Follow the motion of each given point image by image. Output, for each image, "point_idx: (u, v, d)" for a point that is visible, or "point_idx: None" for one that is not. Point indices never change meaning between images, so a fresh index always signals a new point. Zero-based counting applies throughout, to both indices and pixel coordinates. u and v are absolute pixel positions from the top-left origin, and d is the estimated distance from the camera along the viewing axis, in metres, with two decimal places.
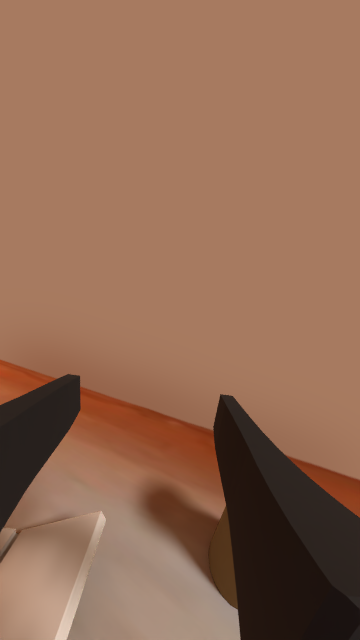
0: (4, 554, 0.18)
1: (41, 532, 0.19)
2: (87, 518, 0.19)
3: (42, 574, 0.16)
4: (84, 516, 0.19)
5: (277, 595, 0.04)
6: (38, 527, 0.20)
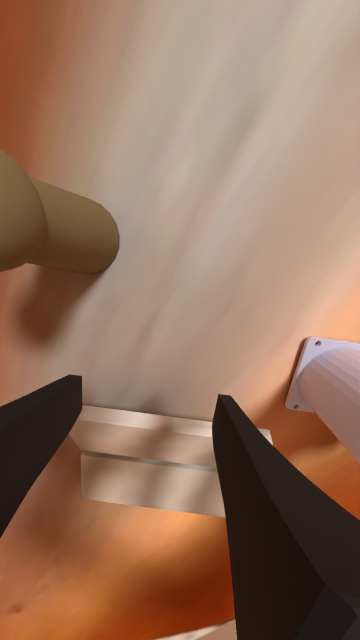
0: None
1: (80, 442, 0.20)
2: None
3: (107, 437, 0.18)
4: None
5: (273, 594, 0.04)
6: (77, 444, 0.20)
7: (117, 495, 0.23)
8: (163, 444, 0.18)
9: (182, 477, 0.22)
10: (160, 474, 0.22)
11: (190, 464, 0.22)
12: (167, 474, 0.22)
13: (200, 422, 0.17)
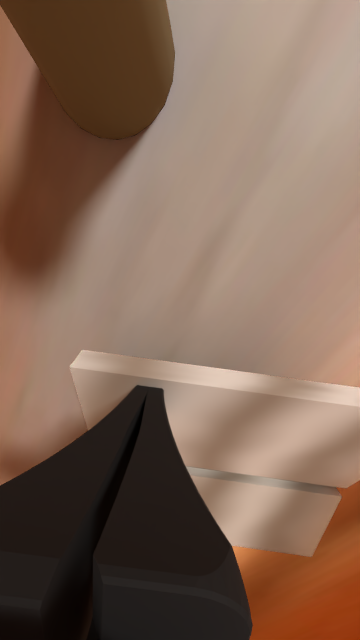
0: None
1: None
2: (83, 386, 0.10)
3: None
4: (79, 390, 0.10)
5: None
6: None
7: None
8: (242, 430, 0.11)
9: (250, 497, 0.14)
10: (216, 492, 0.14)
11: None
12: (227, 493, 0.14)
13: (314, 383, 0.10)
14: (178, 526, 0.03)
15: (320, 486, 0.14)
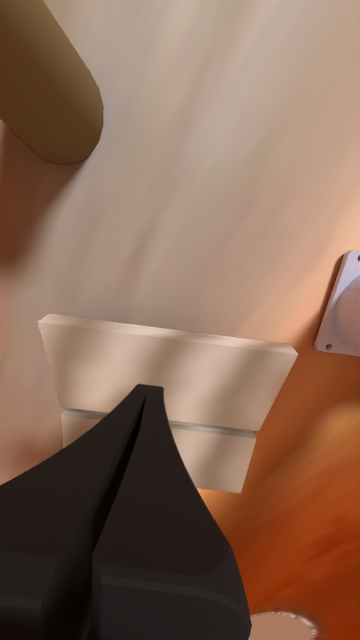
0: (81, 410, 0.18)
1: (62, 386, 0.16)
2: (47, 338, 0.14)
3: (97, 366, 0.15)
4: (45, 342, 0.14)
5: None
6: (58, 391, 0.17)
7: None
8: (165, 374, 0.15)
9: (186, 442, 0.18)
10: None
11: (197, 423, 0.18)
12: None
13: (210, 335, 0.14)
14: (178, 525, 0.03)
15: (241, 432, 0.18)
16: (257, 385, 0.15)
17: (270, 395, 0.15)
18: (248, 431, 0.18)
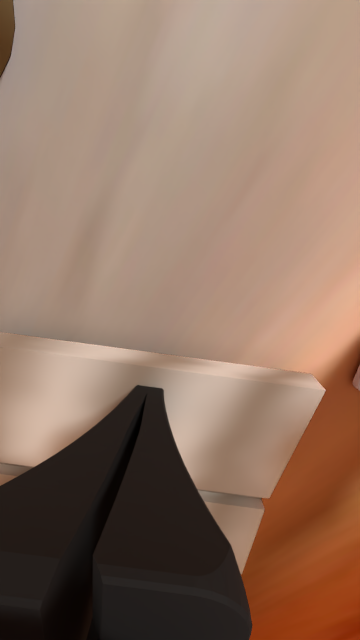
0: None
1: None
2: None
3: (31, 405, 0.10)
4: None
5: None
6: None
7: None
8: None
9: None
10: None
11: None
12: None
13: (195, 360, 0.10)
14: (178, 526, 0.03)
15: (243, 498, 0.13)
16: (265, 435, 0.10)
17: (284, 449, 0.11)
18: (252, 496, 0.13)
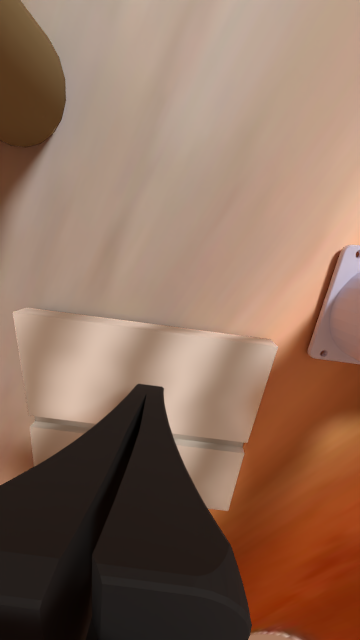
0: (52, 421, 0.17)
1: (32, 388, 0.15)
2: (21, 330, 0.13)
3: (71, 364, 0.14)
4: (18, 335, 0.14)
5: None
6: (27, 395, 0.15)
7: None
8: (143, 371, 0.14)
9: None
10: None
11: None
12: None
13: (189, 329, 0.14)
14: (178, 526, 0.03)
15: (228, 446, 0.17)
16: (241, 384, 0.14)
17: (255, 396, 0.15)
18: (235, 444, 0.17)
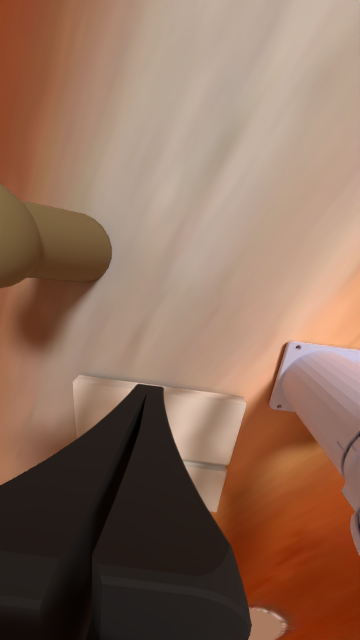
0: None
1: (81, 427, 0.22)
2: (77, 392, 0.20)
3: None
4: (75, 395, 0.21)
5: None
6: (77, 432, 0.22)
7: None
8: None
9: None
10: None
11: None
12: None
13: (188, 390, 0.21)
14: (178, 526, 0.03)
15: (216, 466, 0.24)
16: (222, 427, 0.21)
17: (232, 434, 0.21)
18: (221, 465, 0.24)
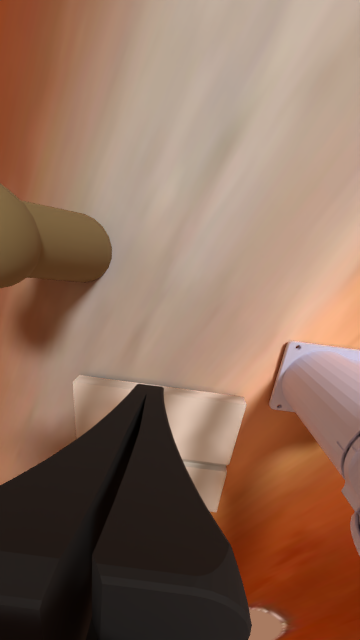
0: None
1: (81, 427, 0.22)
2: (77, 392, 0.20)
3: None
4: (75, 395, 0.21)
5: None
6: (77, 432, 0.22)
7: None
8: None
9: None
10: None
11: None
12: None
13: (188, 390, 0.21)
14: (178, 526, 0.03)
15: (216, 466, 0.24)
16: (222, 427, 0.21)
17: (232, 434, 0.21)
18: (221, 465, 0.24)
